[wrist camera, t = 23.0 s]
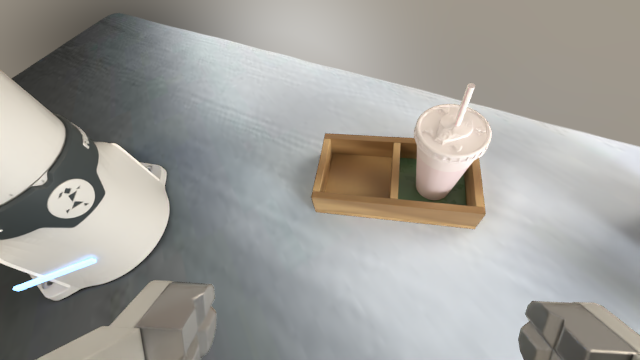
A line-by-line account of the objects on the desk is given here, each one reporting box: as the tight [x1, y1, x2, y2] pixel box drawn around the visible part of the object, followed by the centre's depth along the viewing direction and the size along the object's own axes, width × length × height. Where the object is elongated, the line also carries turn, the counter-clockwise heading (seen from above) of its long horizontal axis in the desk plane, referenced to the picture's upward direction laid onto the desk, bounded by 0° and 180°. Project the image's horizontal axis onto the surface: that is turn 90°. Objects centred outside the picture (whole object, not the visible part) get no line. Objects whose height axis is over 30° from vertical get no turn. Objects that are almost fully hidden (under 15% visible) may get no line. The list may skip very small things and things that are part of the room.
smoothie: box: [414, 83, 492, 200], centre depth 29 cm, size 6×6×14 cm
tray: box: [311, 134, 486, 229], centre depth 35 cm, size 9×17×4 cm, turn 80°
